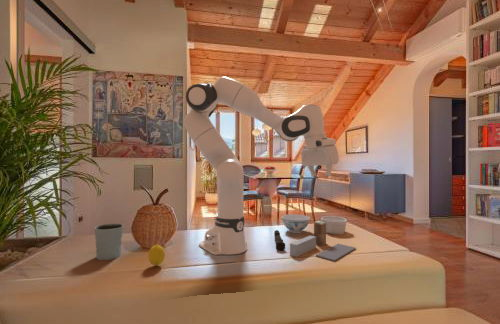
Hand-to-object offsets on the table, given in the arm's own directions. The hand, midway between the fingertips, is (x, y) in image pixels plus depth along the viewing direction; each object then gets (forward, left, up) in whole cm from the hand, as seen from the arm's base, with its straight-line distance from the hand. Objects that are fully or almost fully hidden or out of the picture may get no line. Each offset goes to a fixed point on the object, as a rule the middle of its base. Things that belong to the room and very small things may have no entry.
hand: (321, 176), depth 114 cm
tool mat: (+5, +5, -32) cm, 33 cm away
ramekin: (-11, +35, -32) cm, 49 cm away
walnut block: (-6, +11, -32) cm, 34 cm away
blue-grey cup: (-59, -62, -32) cm, 92 cm away
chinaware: (-26, +21, -32) cm, 46 cm away
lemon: (-36, -54, -32) cm, 73 cm away
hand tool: (-20, -3, -33) cm, 38 cm away
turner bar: (-6, -3, -32) cm, 33 cm away
